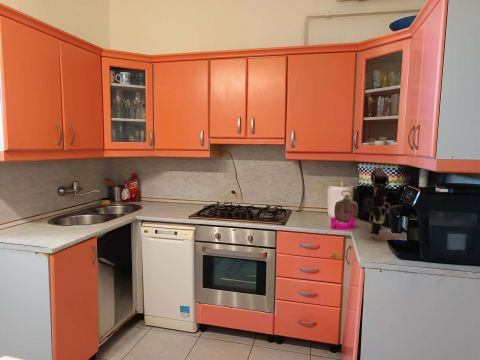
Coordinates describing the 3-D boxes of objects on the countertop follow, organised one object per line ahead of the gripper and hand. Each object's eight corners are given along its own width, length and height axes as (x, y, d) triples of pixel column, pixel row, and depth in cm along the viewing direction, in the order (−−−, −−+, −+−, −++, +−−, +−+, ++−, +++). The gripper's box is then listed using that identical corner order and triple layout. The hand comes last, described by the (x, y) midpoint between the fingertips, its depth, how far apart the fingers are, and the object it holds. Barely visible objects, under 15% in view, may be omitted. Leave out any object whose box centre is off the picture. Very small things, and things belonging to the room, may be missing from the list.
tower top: (381, 233, 191) (381, 228, 191) (394, 235, 187) (394, 230, 187) (378, 235, 185) (379, 230, 185) (391, 237, 181) (392, 232, 181)
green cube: (376, 221, 190) (376, 214, 189) (384, 222, 186) (384, 215, 186) (373, 222, 186) (373, 215, 186) (381, 223, 183) (381, 216, 183)
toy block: (331, 229, 210) (332, 218, 209) (330, 227, 216) (331, 217, 216) (355, 230, 208) (355, 219, 207) (353, 228, 214) (353, 217, 213)
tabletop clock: (334, 226, 220) (334, 190, 218) (336, 223, 228) (337, 189, 226) (355, 228, 213) (356, 191, 211) (358, 225, 221) (359, 190, 218)
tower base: (380, 237, 193) (380, 232, 193) (396, 240, 187) (396, 235, 187) (375, 240, 186) (375, 235, 186) (391, 243, 180) (391, 238, 180)
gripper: (372, 192, 197) (371, 216, 199) (359, 195, 184) (358, 221, 185) (391, 193, 189) (389, 219, 191) (379, 197, 176) (378, 224, 178)
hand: (378, 220), depth 186 cm, fingers closed on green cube, 4 cm apart
